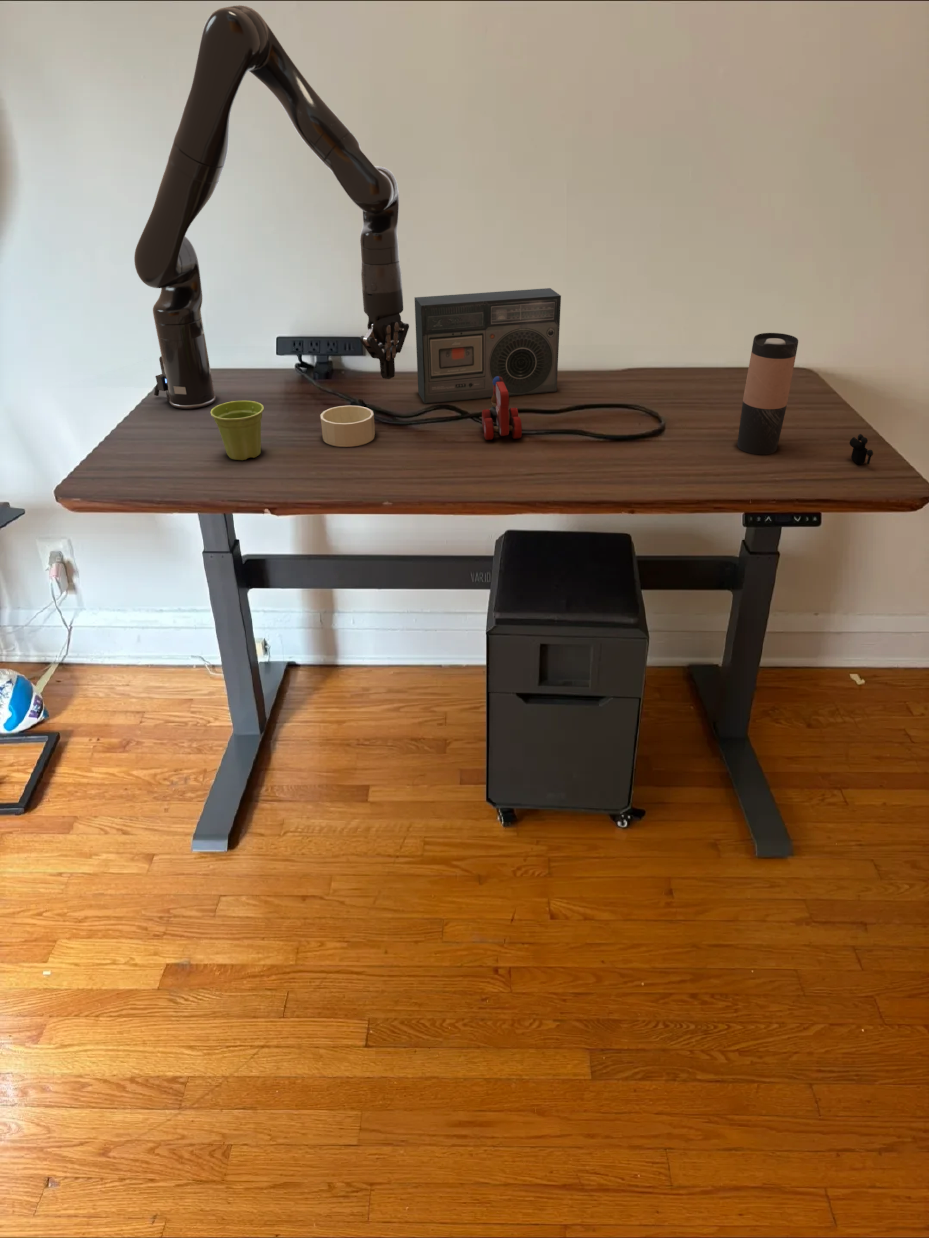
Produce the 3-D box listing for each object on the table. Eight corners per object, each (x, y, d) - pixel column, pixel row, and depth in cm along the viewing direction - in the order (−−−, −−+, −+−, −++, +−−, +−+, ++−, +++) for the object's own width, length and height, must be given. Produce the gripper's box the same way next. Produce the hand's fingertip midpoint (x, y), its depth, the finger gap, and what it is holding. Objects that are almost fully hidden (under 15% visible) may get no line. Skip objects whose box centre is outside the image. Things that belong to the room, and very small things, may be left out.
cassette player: (424, 403, 188) (421, 305, 177) (418, 393, 194) (414, 297, 183) (556, 391, 194) (560, 295, 183) (546, 381, 199) (550, 288, 189)
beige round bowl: (311, 440, 172) (309, 417, 169) (345, 424, 179) (343, 402, 176) (352, 450, 167) (350, 427, 165) (385, 433, 174) (383, 411, 172)
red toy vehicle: (515, 421, 179) (516, 369, 173) (522, 444, 169) (524, 390, 163) (480, 422, 179) (480, 371, 173) (486, 446, 168) (486, 392, 162)
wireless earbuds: (871, 470, 157) (878, 443, 154) (857, 471, 157) (864, 444, 154) (851, 455, 163) (857, 428, 160) (838, 455, 163) (844, 429, 160)
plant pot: (258, 466, 161) (251, 420, 157) (209, 462, 163) (201, 416, 158) (277, 446, 169) (271, 402, 164) (230, 443, 171) (223, 399, 166)
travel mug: (779, 442, 168) (800, 334, 157) (777, 457, 162) (798, 346, 151) (737, 437, 170) (754, 331, 160) (733, 452, 164) (751, 342, 154)
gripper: (387, 277, 174) (393, 366, 184) (344, 291, 165) (352, 384, 175) (419, 281, 171) (422, 371, 180) (376, 296, 162) (382, 390, 171)
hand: (388, 377), depth 177 cm, fingers closed
